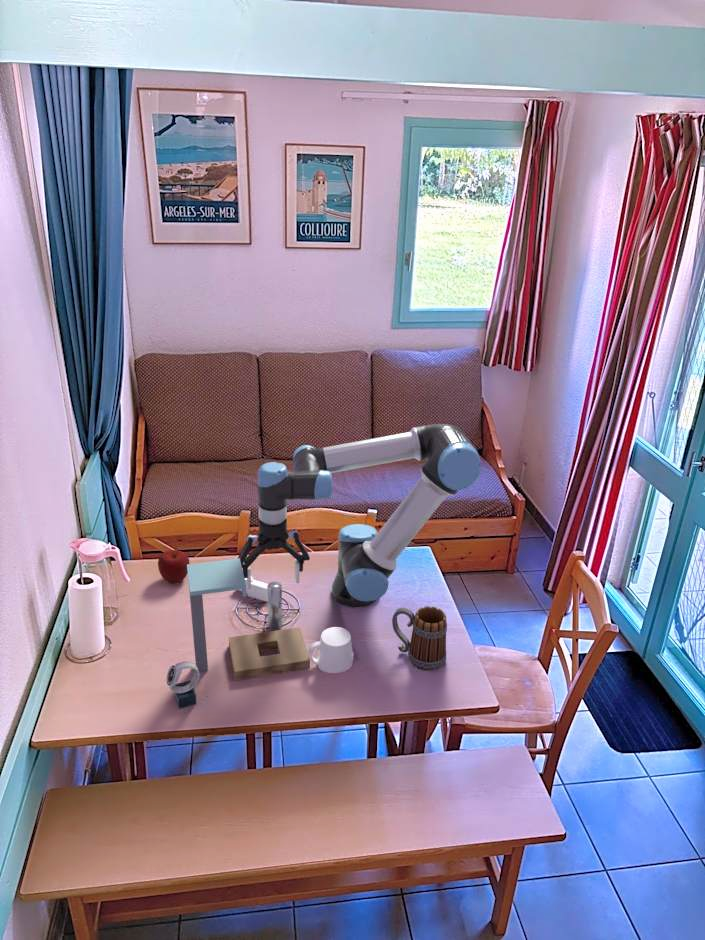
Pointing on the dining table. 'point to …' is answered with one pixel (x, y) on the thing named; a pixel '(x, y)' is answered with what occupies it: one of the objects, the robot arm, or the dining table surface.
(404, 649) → the mug
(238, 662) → the socket board
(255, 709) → the dining table surface
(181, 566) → the apple
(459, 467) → the robot arm
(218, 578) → the light blue l-shaped bracket
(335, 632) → the mug
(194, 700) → the watch
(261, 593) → the napkin holder
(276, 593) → the peg
